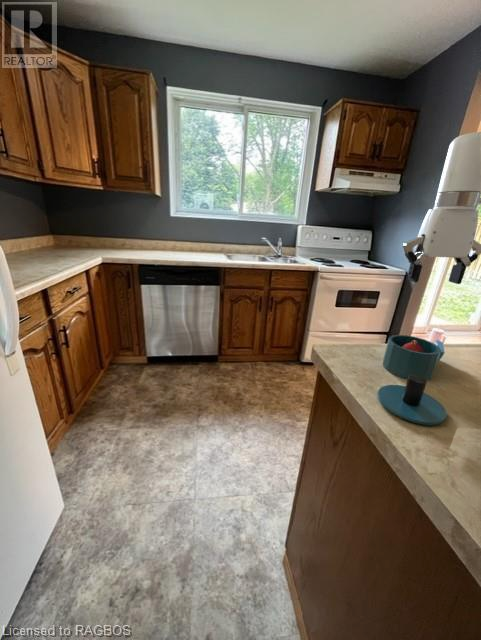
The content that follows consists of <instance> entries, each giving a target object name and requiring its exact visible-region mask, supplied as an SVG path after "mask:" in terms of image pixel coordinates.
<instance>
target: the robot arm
mask: <svg viewBox="0 0 481 640" xmlns="http://www.w3.org/2000/svg"><path fill="white" fill-rule="evenodd" d="M478 205H481V131H474V132H469V133H468V132H467V133H465V134H462V135H458V136H457V137H455V138H454V139H453V140H452V141H451V142H450V144H449V146H448V149H447V154H446V157H445V161H444V165H443V169H442V173H441V176H440V181H439V184H438V188H437V192H436V196H435V200H434V204H433V208H430V209H428V211H426V212H427V213H426V214H425V216H424V219H423V221H422V223H421V226H420V228H419V232H418V234H417V237H416V238H413V239H411V240H408V241H406V242H404V243H403V245H402V248H403V252H404V256H405V258H407V260H408V263H409V268H408V272H407V281H410V282H413V283H418V282H419V280H420V276H421V272H422V269H423V265H422V264H421V263H423V261H425V260H426V259H427V258H428V257H430V258H451V259H452V258H453V259H454V261H455V263H456V264H453V265H452V268H451V271H450V274H449V277H448V282H449V283H453V284H456V285H461V284H462V281H463V279H464V276H465V274H466V270H467V268H468V267H470V266H471V265H472V263H473V262H475V261H476V260H478V259H479V256H480V255H481V243H480V242H478V241H477V240H476V239H475V237H476V235H477V234H476V233H477V228H478V222H479V209H477V208H478ZM413 248H414V249H413Z"/></svg>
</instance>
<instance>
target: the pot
mask: <svg viewBox="0 0 481 640" xmlns="http://www.w3.org/2000/svg"><path fill="white" fill-rule="evenodd" d="M413 340H415V341H417V343H418V345H420V346H421V348H422V349H423V351H424V353H421V352H416V351H411V350H408V349H405V348H402V346H403V345H405V344H407V343H411V342H412V341H413ZM440 353H441V349H440V348H439V347H438V346H437V345H435V342H432V341H429V340H428V339H424V338H420V337H418V336H413V335H407V334H394V335H391V336H389V337H388V340H387V343H386V347H385V351H384V355H383V360H382V366H383V368H384V369H385V370H386V371H388V372H389V373H390V374H392V375H394V376H397V377H399V378H401V379H403V380H404V379H405V380H408V376H409V375H417V376H420V377H422V378H424V379H425V380H426V381H427V382H428V381H431V380H432V378H433V376H434V374H435V370H436V368H437V365H438V363H439V362H438V359H439V356H440ZM437 362H438V363H437Z"/></svg>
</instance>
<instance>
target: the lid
mask: <svg viewBox="0 0 481 640" xmlns="http://www.w3.org/2000/svg"><path fill="white" fill-rule="evenodd" d="M427 384H428V381H426V380H425V379H424V378H422V377H420V376H417V375H409V376H408V379H406V383H405V385H399V384H387V385H386V384H385V385H383V386H381V387H380V388H379V389H378V391H377V395H376V397H377V400H378V402H379V403H380V404H381V405H382V406H383V407H384V408H385V409H386V410H387V411H388V412H390V413H391V414H393V415H395V416H397V417H399V418H400V419H403V420H405V421H409V422H412V423H415V424H418V425H426V426H435V425H440V424H442V423H444V421H445V420H446V418H447V410H446V409H445V407H444V405H442V403H441V402H439V401H438V400H437V399H436V398H434V396H433V397H432V396H431V395H430V394H427V393H425V389H426V386H427Z"/></svg>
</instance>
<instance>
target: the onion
mask: <svg viewBox="0 0 481 640" xmlns="http://www.w3.org/2000/svg"><path fill="white" fill-rule="evenodd" d="M402 348H405V349H408V350H411V351H416V352H421V353H424V351H423V349H422V348H421V346H420V345H418V343H417V341H415V340H413V341H412V342H411V343H407V344H405V345H403V346H402Z"/></svg>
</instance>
